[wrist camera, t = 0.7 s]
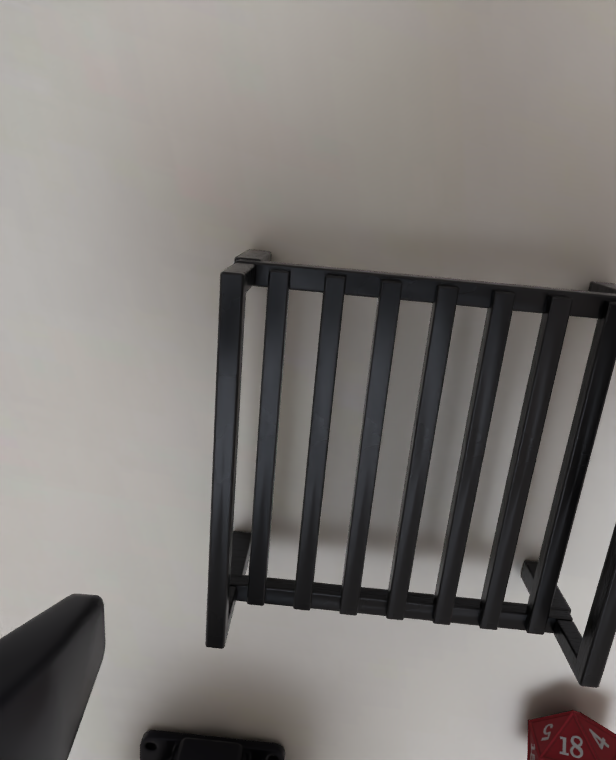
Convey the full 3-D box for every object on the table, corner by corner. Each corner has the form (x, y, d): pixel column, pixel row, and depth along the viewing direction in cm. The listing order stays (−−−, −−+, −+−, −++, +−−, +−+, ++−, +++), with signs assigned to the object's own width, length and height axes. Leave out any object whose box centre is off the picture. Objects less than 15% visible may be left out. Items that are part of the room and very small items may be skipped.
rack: (539, 578, 23) (601, 691, 18) (231, 547, 23) (201, 650, 18) (614, 283, 19) (719, 314, 14) (248, 249, 19) (216, 267, 14)
